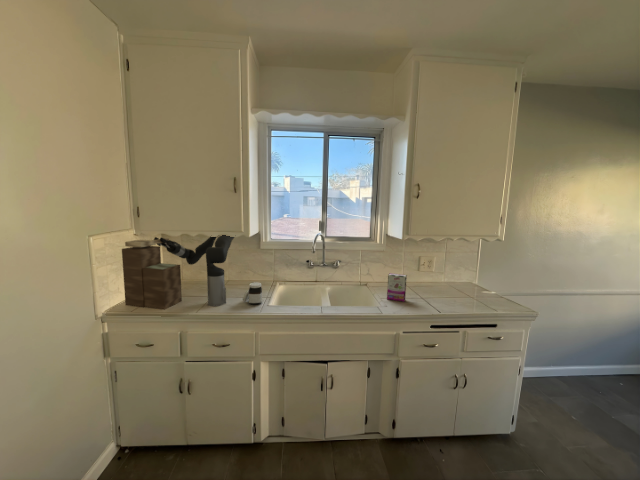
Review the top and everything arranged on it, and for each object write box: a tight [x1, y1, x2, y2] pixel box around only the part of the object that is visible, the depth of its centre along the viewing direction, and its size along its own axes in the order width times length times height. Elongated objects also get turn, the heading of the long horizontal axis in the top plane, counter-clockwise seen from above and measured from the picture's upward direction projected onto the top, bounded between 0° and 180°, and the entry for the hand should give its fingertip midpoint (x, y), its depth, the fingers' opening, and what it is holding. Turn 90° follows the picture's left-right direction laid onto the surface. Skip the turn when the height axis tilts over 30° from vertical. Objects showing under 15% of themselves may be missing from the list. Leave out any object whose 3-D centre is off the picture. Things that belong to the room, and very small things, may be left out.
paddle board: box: [124, 237, 170, 248], centre depth 156 cm, size 24×10×2 cm, turn 168°
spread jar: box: [242, 281, 263, 306], centre depth 157 cm, size 12×11×12 cm
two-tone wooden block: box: [121, 245, 183, 310], centre depth 150 cm, size 14×25×32 cm, turn 78°
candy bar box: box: [386, 273, 408, 303], centre depth 169 cm, size 11×5×16 cm, turn 68°
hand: (157, 238), depth 161 cm, fingers closed on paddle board, 3 cm apart
